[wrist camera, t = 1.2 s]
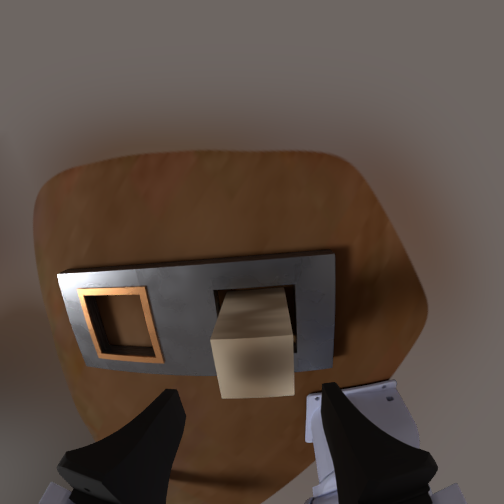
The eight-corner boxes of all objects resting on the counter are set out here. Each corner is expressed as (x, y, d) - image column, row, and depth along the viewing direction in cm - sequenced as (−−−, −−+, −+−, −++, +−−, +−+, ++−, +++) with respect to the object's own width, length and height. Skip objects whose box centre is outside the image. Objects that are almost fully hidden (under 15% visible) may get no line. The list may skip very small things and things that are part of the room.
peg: (283, 287, 22) (292, 334, 14) (286, 336, 23) (294, 395, 15) (227, 291, 22) (210, 339, 15) (233, 339, 23) (222, 398, 16)
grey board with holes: (330, 249, 21) (335, 254, 19) (328, 358, 23) (332, 369, 21) (66, 269, 22) (55, 274, 21) (93, 358, 24) (85, 367, 23)
